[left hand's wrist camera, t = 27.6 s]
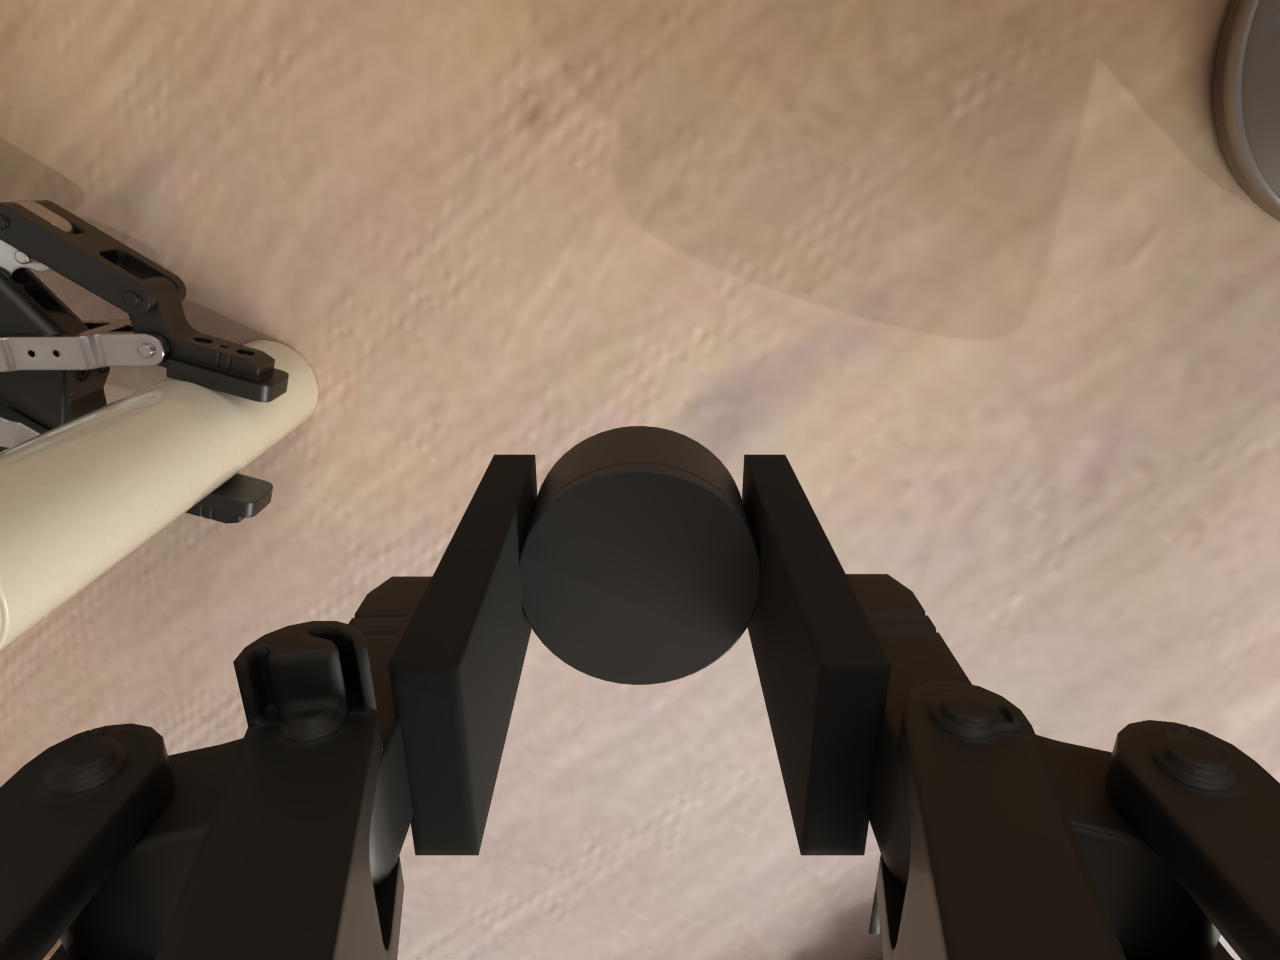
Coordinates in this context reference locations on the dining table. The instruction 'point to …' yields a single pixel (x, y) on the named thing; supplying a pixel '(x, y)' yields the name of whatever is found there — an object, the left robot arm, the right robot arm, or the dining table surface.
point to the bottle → (126, 480)
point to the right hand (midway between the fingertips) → (269, 445)
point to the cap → (639, 558)
